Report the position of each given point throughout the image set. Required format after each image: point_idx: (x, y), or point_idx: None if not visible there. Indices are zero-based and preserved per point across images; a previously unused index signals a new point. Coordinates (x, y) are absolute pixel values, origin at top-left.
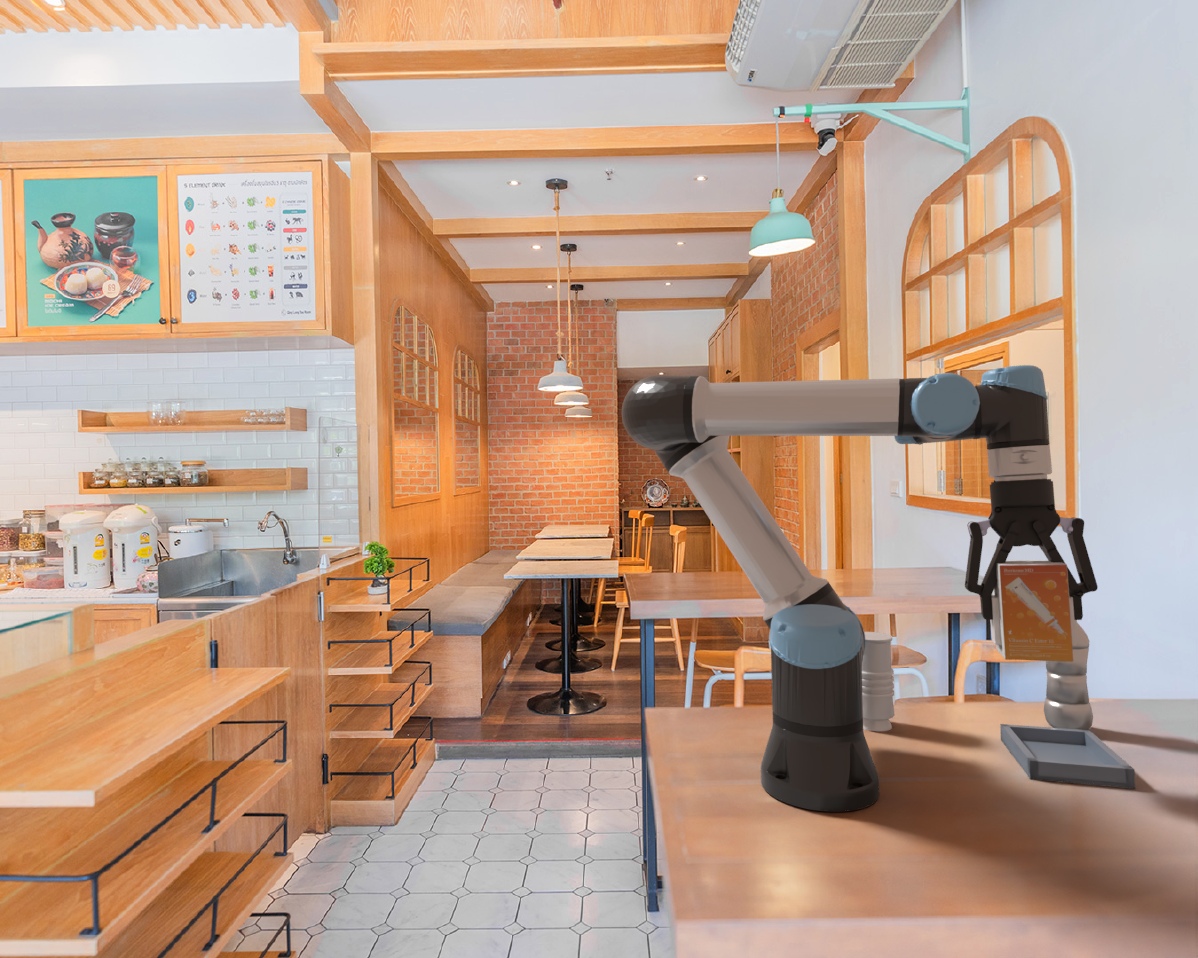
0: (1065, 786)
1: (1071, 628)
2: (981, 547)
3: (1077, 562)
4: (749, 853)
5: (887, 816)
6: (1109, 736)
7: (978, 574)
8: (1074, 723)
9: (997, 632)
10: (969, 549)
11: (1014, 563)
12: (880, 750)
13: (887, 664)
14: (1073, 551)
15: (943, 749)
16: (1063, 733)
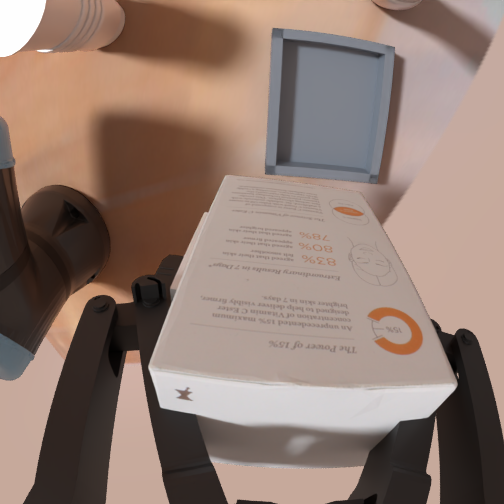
0: (297, 180)
1: None
2: (104, 483)
3: (452, 424)
4: (64, 324)
5: (120, 275)
6: (424, 13)
7: (118, 389)
8: (389, 8)
9: None
10: (48, 434)
11: (230, 455)
12: (104, 117)
13: (65, 30)
14: (462, 454)
15: (179, 87)
16: (357, 48)
